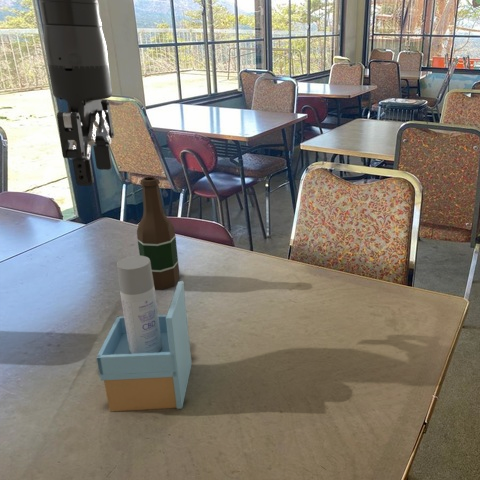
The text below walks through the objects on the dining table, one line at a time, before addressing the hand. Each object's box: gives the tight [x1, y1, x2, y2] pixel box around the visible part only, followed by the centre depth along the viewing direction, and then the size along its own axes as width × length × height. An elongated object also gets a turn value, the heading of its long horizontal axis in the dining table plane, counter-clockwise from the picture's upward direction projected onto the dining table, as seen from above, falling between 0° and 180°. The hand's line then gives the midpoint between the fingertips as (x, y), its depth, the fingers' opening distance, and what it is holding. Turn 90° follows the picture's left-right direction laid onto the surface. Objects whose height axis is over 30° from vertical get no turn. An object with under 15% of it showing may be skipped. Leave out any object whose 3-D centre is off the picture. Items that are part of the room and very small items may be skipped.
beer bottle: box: [136, 176, 180, 291], centre depth 103 cm, size 8×8×24 cm
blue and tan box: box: [95, 280, 193, 412], centre depth 73 cm, size 11×11×16 cm
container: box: [116, 255, 162, 354], centre depth 70 cm, size 5×5×15 cm
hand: (95, 176), depth 72 cm, fingers open, 8 cm apart
